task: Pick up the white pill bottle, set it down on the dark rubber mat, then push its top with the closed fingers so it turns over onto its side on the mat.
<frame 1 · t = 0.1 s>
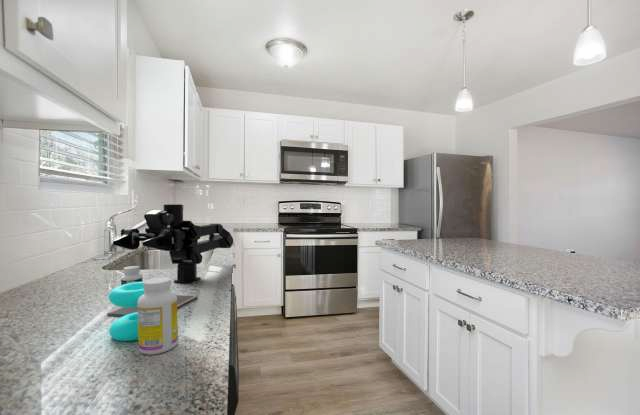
hand: (127, 243, 82), 17 cm above the countertop, tool horizontal, fingers open, 9 cm apart
donuts: (138, 333, 65), on the countertop
supplement bottle: (158, 348, 58), on the countertop
mat: (156, 306, 81), on the countertop
pill bottle: (132, 298, 88), on the countertop
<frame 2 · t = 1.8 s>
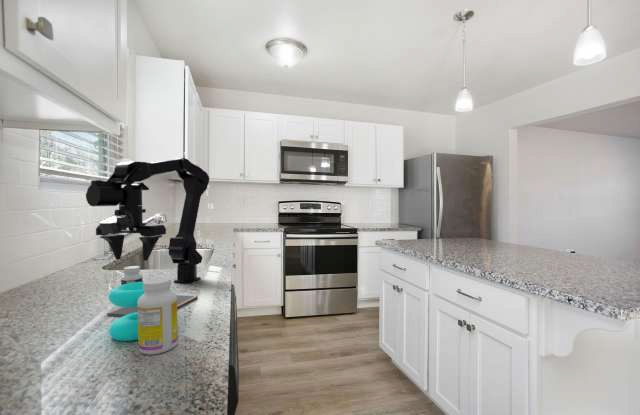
hand: (131, 259, 88), 11 cm above the countertop, tool pointing down, fingers open, 9 cm apart
nothing on the countertop moved.
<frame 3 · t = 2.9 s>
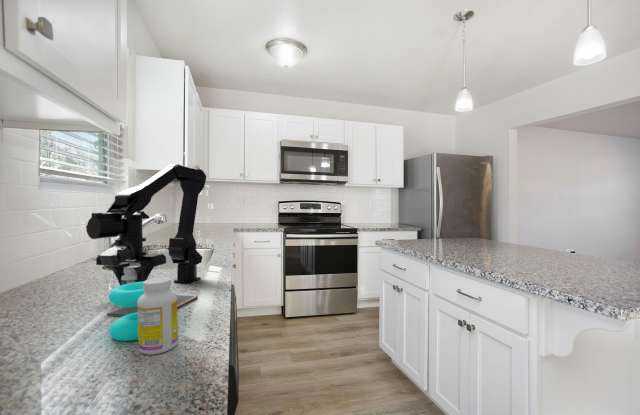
hand: (131, 289, 88), 3 cm above the countertop, tool pointing down, fingers closed on pill bottle, 5 cm apart
pill bottle: (132, 298, 88), on the countertop, touching gripper
everything else where it was.
when the fingers open (4 cm above the countertop, at t = 7.2 s): pill bottle stays where it is, resting on mat.
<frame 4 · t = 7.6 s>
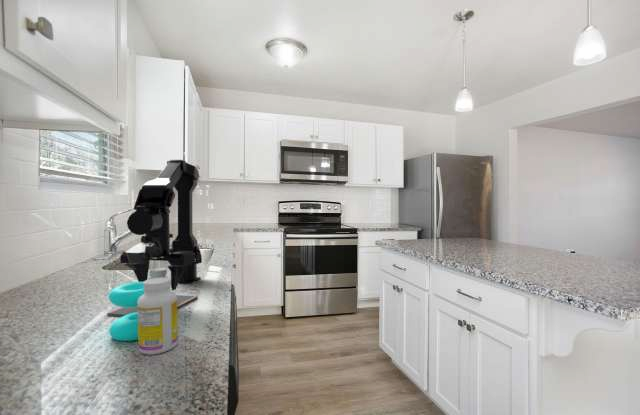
hand: (158, 289, 82), 4 cm above the countertop, tool pointing down, fingers open, 9 cm apart
pill bottle: (158, 303, 82), resting on mat
everything else where it was.
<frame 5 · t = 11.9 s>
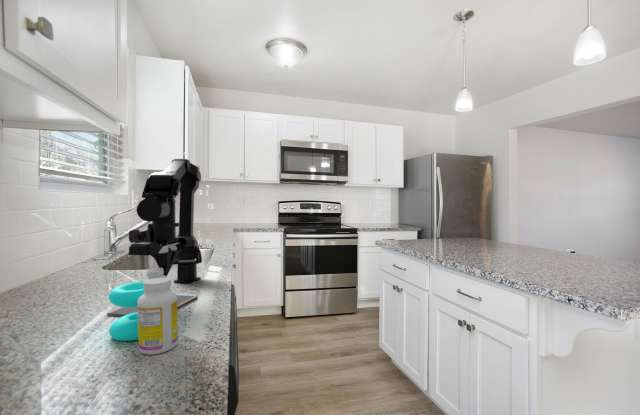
hand: (164, 276, 84), 7 cm above the countertop, tool pointing down, fingers closed
pill bottle: (158, 302, 82), point 1 cm above the countertop, touching gripper, mat
everything else where it was.
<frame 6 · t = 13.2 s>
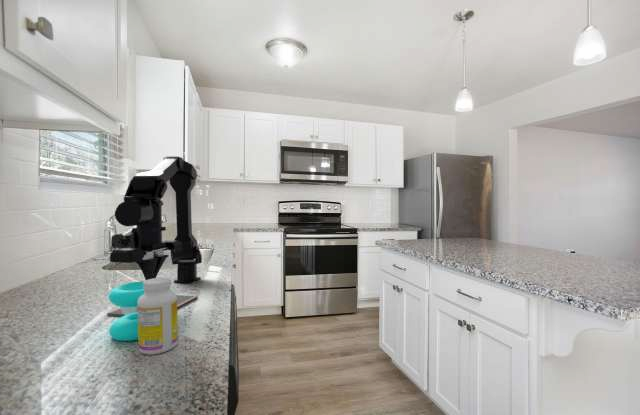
hand: (150, 283, 79), 7 cm above the countertop, tool pointing down, fingers closed
pill bottle: (154, 295, 80), point 3 cm above the countertop, touching mat
everything else where it was.
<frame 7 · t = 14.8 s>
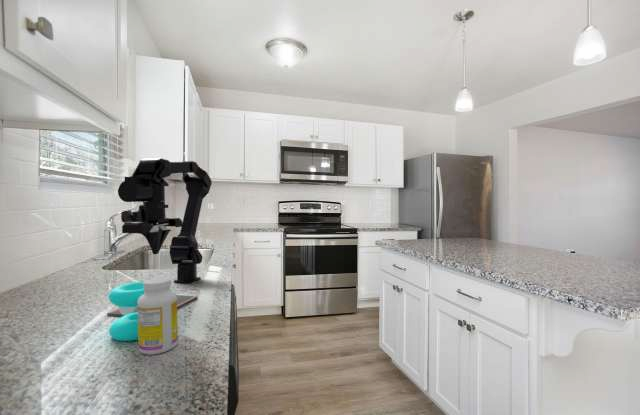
hand: (155, 254, 91), 12 cm above the countertop, tool pointing down, fingers closed
nothing on the countertop moved.
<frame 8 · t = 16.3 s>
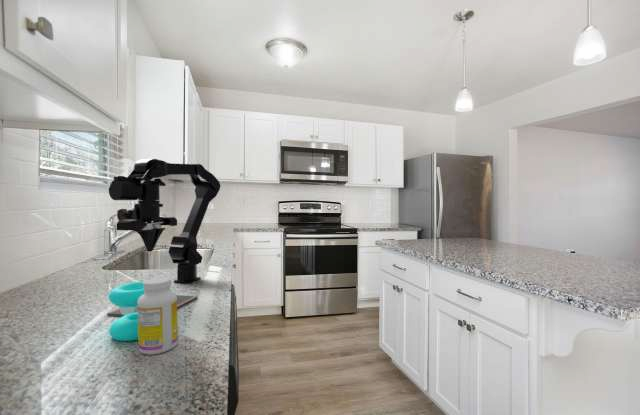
hand: (149, 251, 94), 13 cm above the countertop, tool pointing down, fingers closed
nothing on the countertop moved.
at the end: pill bottle tilted 90°; pill bottle inside the target area (0.7 cm from its centre), point 3.2 cm above the countertop; the gripper is holding nothing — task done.
